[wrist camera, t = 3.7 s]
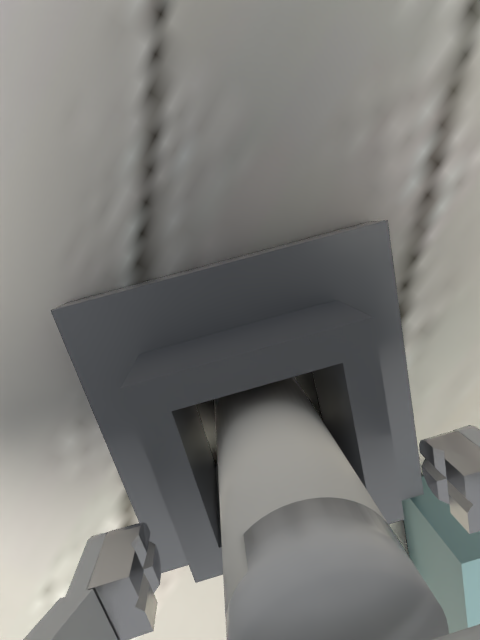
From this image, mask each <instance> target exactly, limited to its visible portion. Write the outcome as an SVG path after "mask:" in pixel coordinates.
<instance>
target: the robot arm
mask: <svg viewBox="0 0 480 640" xmlns="http://www.w3.org/2000/svg"><path fill="white" fill-rule="evenodd" d="M419 447H420V453H421V454H422V455H423V456H424V457H425V460H424V462H423V464H422V469H423V475H424V478H425V480H426V482H427V485H428V486H429V488H430V489H431V491H432V493H433V494H434V495H435V496H436V497H437V498H438V499H439V500H440V501H442V502H445V503H447V504H449V505H450V512H451V514H452V515H453V516H454V517H455V518H456V520H457V521H458V522H459V523H460V524H461V525H462V526H463V527H464V528H465V530H466V531H467V532H468V533H469V534H471V533H475V532H479V531H480V430H479V429H478V428H476V427H475V426H471V425H468V426H465V427H462V428H459V429H456V430H453V431H450V432H447V433H444V434H440V435H437V436H434V437H431V438H427V439H424V440H421V441H420V444H419ZM150 533H151V532H150V530H149V528H148V526H147V523H144V522H142V523H138V524H135V525H131V526H127V527H124V528H120V529H116V530H112V531H109V532H106V533H103V534H99V535H95V536H92V537H91V538H90V539H89V540H88V541H87V543H86V546H85V548H84V551H83V553H82V556H81V558H80V561H79V564H78V566H77V569H76V571H75V574H74V576H73V579H72V581H71V584H70V586H69V589H68V592H67V594H66V597H63V598H60V599H59V600H58V601H57V602H56V603H55V604H54V606H53V607H52V608H51V609H50V610H49V611H48V612H47V613H46V615H45V616H44V617H43V618H42V619H41V620H40V621H39V622H38V624H37V625H36V626H35V627H34V628H33V629H32V630H31V631H30V633H29V634H28V635H27V636H26V637H25V638H24V639H23V640H129V639H132V638H135V637H137V636H140V635H143V634H146V633H149V632H152V631H154V624H155V616H156V609H157V600H156V598H155V595H154V592H155V591H156V589H157V588H158V586H159V585H160V578H161V563H160V557H159V552H158V549H157V547H156V545H155V544H154V543H152V542H150V541H149V539H150ZM432 640H480V624H479V625H475V626H472V627H469V628H466V629H463V630H460V631H457V632H454V633H450V634H447V635H444V636H441V637H438V638H435V639H432Z"/></svg>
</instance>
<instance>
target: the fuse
mask: <svg viewBox="0 0 480 640" xmlns="http://www.w3.org/2000/svg"><path fill="white" fill-rule="evenodd" d="M214 407H215V426H216V445H217V464H218V483H219V502H220V521H221V540H222V559H223V578H224V597H225V616H226V635H227V640H432V639H435V638H438V637H441V636H444V635H447V634H449V628H448V623H447V619H446V616H445V614H444V611H443V609H442V607H441V606H440V604H439V603H438V601H437V599H436V598H435V596H434V595H433V593H432V592H431V590H430V588H429V587H428V585H427V584H426V582H425V581H424V579H423V578H422V576H421V574H420V573H419V571H418V570H417V568H416V567H415V565H414V563H413V562H412V560H411V559H410V557H409V556H408V554H407V552H406V551H405V549H404V548H403V546H402V545H401V543H400V541H399V540H398V538H397V537H396V535H395V534H394V532H393V531H392V529H391V527H390V526H389V524H388V523H387V521H386V520H385V518H384V516H383V515H382V513H381V512H380V510H379V509H378V507H377V505H376V504H375V502H374V501H373V499H372V498H371V496H370V495H369V493H368V491H367V490H366V488H365V487H364V485H363V484H362V482H361V480H360V479H359V477H358V476H357V474H356V473H355V471H354V469H353V468H352V466H351V465H350V463H349V462H348V460H347V458H346V457H345V455H344V454H343V452H342V451H341V449H340V448H339V446H338V444H337V443H336V441H335V440H334V438H333V437H332V435H331V433H330V432H329V430H328V429H327V427H326V426H325V424H324V422H323V421H322V419H321V418H320V416H319V415H318V413H317V412H316V410H315V408H314V407H313V405H312V404H311V402H310V401H309V399H308V397H307V396H306V394H305V393H304V391H303V390H302V388H301V386H300V385H299V383H298V382H297V380H296V379H295V377H291V378H287V379H284V380H280V381H277V382H273V383H270V384H266V385H263V386H259V387H256V388H252V389H249V390H245V391H242V392H238V393H235V394H231V395H227V396H224V397H220V398H217V399H214Z"/></svg>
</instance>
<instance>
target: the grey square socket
mask: <svg viewBox="0 0 480 640" xmlns="http://www.w3.org/2000/svg"><path fill="white" fill-rule="evenodd" d="M51 312H52V315H53V317H54V320H55V322H56V324H57V327H58V329H59V332H60V334H61V336H62V339H63V341H64V343H65V346H66V348H67V351H68V353H69V355H70V358H71V360H72V363H73V365H74V367H75V370H76V372H77V375H78V377H79V379H80V382H81V384H82V387H83V389H84V391H85V394H86V396H87V399H88V401H89V403H90V406H91V408H92V411H93V413H94V415H95V418H96V420H97V423H98V425H99V427H100V430H101V432H102V434H103V437H104V439H105V442H106V444H107V446H108V449H109V451H110V454H111V456H112V458H113V461H114V463H115V466H116V468H117V470H118V473H119V475H120V478H121V480H122V482H123V485H124V487H125V490H126V492H127V494H128V497H129V499H130V502H131V504H132V506H133V509H134V511H135V513H136V516H137V518H138V521H139V523H142V522H144V523H147V526H148V528H149V530H150V532H151V533H150V539H149V541H150V542H152V543H154V544H155V545H156V547H157V549H158V552H159V557H160V563H161V573H163V572H167V571H170V570H173V569H177V568H180V567H183V566H186V565H189V567H190V569H191V572H192V575H193V577H194V580H195V582H200V581H203V580H206V579H210V578H213V577H216V576H219V575H223V559H222V540H221V521H220V502H219V483H218V464H215V463H214V460H213V456H212V453H211V450H210V447H209V444H208V441H207V438H206V435H205V432H204V429H203V426H202V422H201V419H200V416H199V413H198V410H197V407H196V404H199V403H203V402H206V401H210V400H213V399H217V398H220V397H224V396H227V395H231V394H235V393H238V392H242V391H245V390H249V389H252V388H256V387H259V386H263V385H266V384H270V383H273V382H277V381H280V380H284V379H287V378H291V377H295V376H298V375H302V374H305V373H309V372H312V373H313V377H314V382H315V387H316V391H317V396H318V401H319V405H320V410H321V415H322V419H323V422H324V424H325V426H326V427H327V429H328V430H329V432H330V433H331V435H332V437H333V438H334V440H335V441H336V443H337V444H338V446H339V448H340V449H341V451H342V452H343V454H344V455H345V457H346V458H347V460H348V462H349V463H350V465H351V466H352V468H353V469H354V471H355V473H356V474H357V476H358V477H359V479H360V480H361V482H362V484H363V485H364V487H365V488H366V490H367V491H368V493H369V495H370V496H371V498H372V499H373V501H374V502H375V504H376V505H377V507H378V509H379V510H380V512H381V513H382V515H383V516H384V518H385V520H386V521H387V523H388V524H391V523H394V522H397V521H401V520H404V513H403V507H402V500H406V499H409V498H412V497H416V496H419V495H422V494H424V492H423V484H422V477H421V469H420V461H419V454H418V446H417V439H416V431H415V424H414V416H413V409H412V401H411V393H410V386H409V378H408V371H407V363H406V356H405V348H404V340H403V333H402V325H401V318H400V310H399V303H398V295H397V288H396V280H395V272H394V265H393V257H392V250H391V242H390V235H389V227H388V220H384V221H373V222H367V223H363V224H359V225H356V226H352V227H348V228H344V229H341V230H337V231H333V232H329V233H326V234H322V235H318V236H315V237H311V238H307V239H303V240H300V241H296V242H292V243H288V244H285V245H281V246H277V247H273V248H270V249H266V250H262V251H259V252H255V253H251V254H247V255H244V256H240V257H236V258H232V259H229V260H225V261H221V262H217V263H214V264H210V265H206V266H203V267H199V268H195V269H191V270H188V271H184V272H180V273H176V274H173V275H169V276H165V277H162V278H158V279H154V280H150V281H147V282H143V283H139V284H135V285H132V286H128V287H124V288H120V289H117V290H113V291H109V292H106V293H102V294H98V295H94V296H91V297H87V298H83V299H79V300H76V301H72V302H68V303H66V304H64V305H61V306H59V307H57V308H55V309H53V310H51Z"/></svg>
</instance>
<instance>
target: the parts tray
mask: <svg viewBox="0 0 480 640" xmlns="http://www.w3.org/2000/svg"><path fill="white" fill-rule="evenodd" d="M421 477H422V484H423V492H424V494H422V495H419V496H416V497H412V498H409V499H406V500H402V507H403V513H404V526H405V533H406V539H407V546H408V552H409V557H410V559H411V560H412V562H413V563H414V565H415V567H416V568H417V570H418V571H419V573H420V574H421V576H422V578H423V579H424V581H425V582H426V584H427V585H428V587H429V588H430V590H431V592H432V593H433V595H434V596H435V598H436V599H437V601H438V603H439V604H440V606H441V607H442V609H443V611H444V614H445V616H446V619H447V623H448V628H449V634H450V633H454V632H457V631H460V630H463V629H466V628H469V627H472V626H475V625H479V624H480V531H479V532H475V533H471V534H469V533H468V532H467V531H466V530H465V528H464V527H463V526H462V525H461V524H460V523H459V522H458V521H457V520H456V518H455V517H454V516H453V515H452V514H451V512H450V505H449V504H447V503H445V502H442V501H440V500H439V499H438V498H437V497H436V496H435V495H434V494H433V493H432V491H431V489H430V488H429V486H428V485H427V482H426V480H425V478H424V475H423V476H421Z"/></svg>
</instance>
